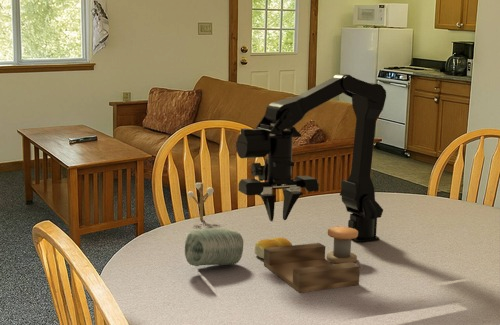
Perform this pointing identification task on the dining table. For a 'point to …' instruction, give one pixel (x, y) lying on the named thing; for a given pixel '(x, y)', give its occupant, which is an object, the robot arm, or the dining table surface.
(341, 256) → the orange capped knob
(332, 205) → the dining table surface
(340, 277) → the notch board
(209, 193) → the cotton branch
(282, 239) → the bread roll
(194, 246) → the spool
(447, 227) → the dining table surface
